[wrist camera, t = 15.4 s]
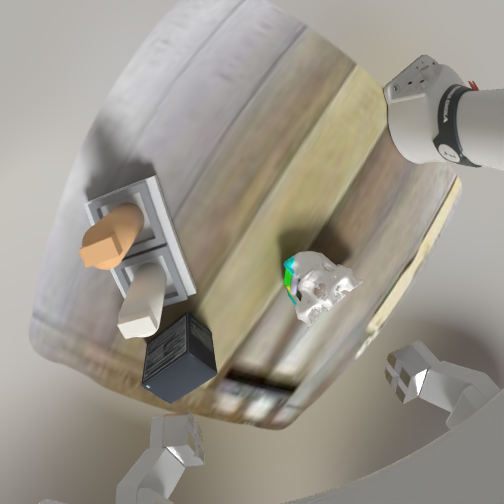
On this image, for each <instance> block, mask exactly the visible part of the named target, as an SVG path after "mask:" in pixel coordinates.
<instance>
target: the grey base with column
mask: <svg viewBox="0 0 504 504" xmlns="http://www.w3.org/2000/svg"><path fill="white" fill-rule="evenodd" d="M123 203H132V204H135V205H136V206H138V207H139V208H140V209H141V211H142V212H143V215H144V226H143V229H142V230H141V232H140V233H139V235H138V236H137V238H136V239H135V241H134V242H133V244H132V245H131V247H130V248H129V250H128V251H127V253H126V254H125V256H124V258H123V259H122V261H121V262H120V263H119V265H117V266H116V267H114V268H112V269H110V270H111V272H112V274H113V276H114V279H115V281H116V283H117V285H118V287H119V289H120V291H121V293H122V295H123V297H124V299H125V300H124V302H123V304H122V307H121V310H120V312H119V322H118V327H119V329H120V331H121V332H122V334H123V336H124V337H125V339H128V338H132V337H148V336H151V335H153V334H154V333H155V332H156V331H157V330H158V328H159V324H160V318H161V312H162V307H164V306H167V305H170V304H174V303H177V302H181V301H184V300H187V299H188V296H189V295H193V294H196V285H195V283H194V280H193V278H192V275H191V272H190V270H189V267H188V265H187V262H186V259H185V257H184V254H183V251H182V248H181V246H180V243H179V240H178V237H177V235H176V232H175V229H174V226H173V223H172V220H171V217H170V214H169V212H168V209H167V206H166V203H165V200H164V197H163V194H162V190H161V187H160V184H159V181H158V178H157V175H154V176H151V177H149V178H146V179H143V180H140V181H138V182H135V183H132V184H130V185H127V186H125V187H122V188H120V189H117V190H115V191H112V192H110V193H107V194H105V195H102V196H100V197H98V198H95V199H93V200H91V201H88V202H87V203H85V204H84V206H85V209H86V212H87V214H88V217H89V220H90V222H91V225H92V226H93V225H95V224H96V223H97V222H98V221H99V220H101V219H102V218H103V217H105V216H106V215H107V214H108V213H110V212H111V211H112V210H113V209H115V208H116V207H117V206H119V205H120V204H123Z"/></svg>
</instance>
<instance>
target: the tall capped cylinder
mask: <svg viewBox="0 0 504 504" xmlns="http://www.w3.org/2000/svg"><path fill="white" fill-rule="evenodd" d="M143 226H144V215H143V212H142V211H141V209H140V208H139V207H138V206H136V205H135V204H132V203H123V204H120V205H119V206H117V207H116V208H115V209H113V210H112V211H111V212H110V213H108V214H107V215H106V216H105V217H103V218H102V219H101V220H99V221H98V222H97V223H96V224H95V225H93V226H92V227H91V228H90V229H89V230H88V231H87V232H86V233H85V235H84V237H83V241H82V247H81V248H80V249H79V250H78V251H79V253H80V255H81V257H82V260H83V262H84V264H85V266H86V268H88V267H91V266H95V267H97V268H99V269H104V270H108V269H112V268H114V267H116V266H117V265H119V263H120V262H121V261H122V259H123V258H124V256H125V254H126V253H127V251H128V250H129V248H130V247H131V245H132V244H133V242H134V241H135V239H136V238H137V236H138V235H139V233H140V232H141V230H142V229H143Z"/></svg>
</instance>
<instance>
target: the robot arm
mask: <svg viewBox="0 0 504 504" xmlns="http://www.w3.org/2000/svg"><path fill="white" fill-rule="evenodd" d="M469 84H470V86H471V87H472V89H471V88H468V87H466V86H465V84H464V83H463V81H462V80H461V78H460V77H459V76H458V75H457V73H456V72H455V71H453V69H451V68H450V67H448V66H446V65H443V64H442V65H441V64H440V65H439V64H438V63H437V62H436V61H435V60H434V59H432V58H431V57H429V56H427V55H421V56H420V57H419V58H417V59H416V60H415V61H414V62H413V63H412V64H410V65H409V66H408V67H407V68H406V69H404V70H403V71H402V72H401V73H400V74H399V75H397V76H396V77H395V78H394V79H393V80H392V81H391V82H389V83H388V84H387V85H386V86H385V87H384V95H385V98H386V101H387V104H388V123H389V130H390V133H391V137H392V139H393V142H394V144H395V146H396V147H397V149H398V150H399V152H400V153H401V154H402V155H403V156H404V157H405V158H406V159H408V160H409V161H411V162H413V163H417V164H423V163H428V162H444V161H451V162H454V163H457V164H461V165H465V166H471V167H482V166H485V167H489V168H493V169H498V170H502V171H504V89H496V90H482V91H479V89H478V87H477V86H476V84H475V83H474V81H473V84H474V85H473V84H472V83H471V82H470V81H469ZM474 86H475V87H474ZM394 88H395V90H394ZM387 361H388V362H389V363H388V365H387V366H386V368H385V376H386V379H387V381H388V383H389V385H390V386H391V387H394V388H396V395H397V396H398V398H399V399H400V401H401V402H402V403H403V404H404V403H406V402H408V401H410V400H412V399H414V398H416V397H418V396H419V397H420V398H422V399H424V400H426V401H429V402H431V403H433V404H435V405H437V406H439V407H441V408H443V409H445V410H447V411H449V412H451V414H450V416H449V418H448V419H447V421H446V425H447V426H448V427H449V429H450V431H448V432H447V433H445V434H444V435H442V436H441V437H439V438H438V439H436V440H434V441H433V442H431V443H429V444H428V445H426V446H425V447H423V448H421V449H419V450H418V451H416V452H414V453H412V454H410V455H409V456H407V457H405V458H403V459H401V460H399V461H397V462H395V463H393V464H391V465H389V466H387V467H385V468H383V469H381V470H379V471H376V472H374V473H372V474H370V475H367V476H365V477H363V478H360V479H358V480H355V481H353V482H350V483H347V484H345V485H342V486H339V487H337V488H334V489H331V490H328V491H325V492H322V493H318V494H315V495H312V496H308V497H305V498H301V499H298V500H294V501H290V502H285V503H281V504H504V388H503V389H502V390H500V389H499V388H498V387H497V386H496V384H494V382H493V381H492V380H491V379H490V378H489V377H488V376H487V375H486V374H485V373H482V372H479V371H475V370H472V369H468V368H465V367H462V366H458V365H455V364H452V363H448V362H445V361H442V362H440V361H439V360H438V359H437V358H436V357H435V356H434V355H433V354H432V353H431V352H430V351H429V349H428V348H426V346H425V345H424V344H423V343H422V342H421V341H419V340H417V341H415V342H413V343H411V344H409V345H406V346H404V347H402V348H400V349H398V350H396V351H394V352H391V353H389V354H388V356H387ZM202 443H203V436H202V431H201V428H200V426H199V424H198V423H197V422H196V421H194V420H193V415H192V414H191V412H185V413H176V414H167V415H156V416H154V417H153V419H152V427H151V439H150V449H146V450H145V452H144V453H143V454H142V455H141V457H140V458H139V459H138V461H137V462H136V463H135V464H134V466H133V467H132V468H131V469H130V471H129V472H128V473H127V475H126V476H125V477H124V478H123V479H122V481H121V482H120V483H119V484H118V485H117V492H116V503H115V504H174V503H172V502H171V501H169V500H168V498H169V496H170V494H171V493H172V491H173V489H174V487H175V485H176V484H177V482H178V480H179V478H180V476H181V475H182V473H183V471H184V469H185V467H187V466H196V465H203V464H205V462H204V451H203V449H202V448H201V447H200V446H201V444H202ZM38 504H66V503H62V502H58V501H55V500H50V499H45V500H43V501H41V502H40V503H38Z"/></svg>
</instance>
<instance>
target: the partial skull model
mask: <svg viewBox="0 0 504 504" xmlns="http://www.w3.org/2000/svg"><path fill="white" fill-rule="evenodd" d="M284 267H285V268H286V271H285V277H284V285H286V287H287V289H288V290H287V292H288V295H289V297H290V299H291V300H292V302H293V303H294V305H295V308H296V313H297V317H298V319H300V320H303V321H304V322H306V324H307V326H308V328H309V327H310V326H311V325H312V324H313V323H314V322H315V321H316V320H317V317H316V316H317V314H318V313H317V312H318V310H319V311H320V312H321V313H322V308H324V307H326V308H327V309H328V310H329V309H331V307H332V306H333V305H334V304H336V303H337V302H339V300H341V299H342V298H344V297H345V296H346V295H340V296H341V297H340V298H337V296H336V294H337V293H340V292H341V291H342V290H348V291H349V292H350V291H351V290H352V289H353V288H355V287H356V286H357V285H358V284H360V283H361V282H363V281H362V280H361V279H360V278H358V277H355V276H354V274H353V273H352V269H350V268H345V267H344V266H343V265H340V264H337V266H336V265H335V264H334V263H333V262H331V261H330V260H329V259H328V258H327V257H326V256H324V255H323V253H317V252H314V251H305V252H299V253H297V254H296V255H295V256H292V257H291V258H289V259H288V260H287V261H285V262H284ZM324 267H326V269H328V270H330V271H327V270H326V269H324ZM329 268H330V269H329ZM334 270H335V271H334ZM299 279H301V280H300V282H299V283H298V280H299ZM321 283H323V284H325V285H326V288H327V290H328V296H327V295H325V294H324V296H325V297H326V299H325V300H322V297H323V293H324V292H325V291H324V290H322V295H321V296H320V297H321V299H320V297H317V296H316V295H315V294H314V289H315V288H318V289H320V288H319V284H321ZM297 285H298V288H297ZM297 290H298V291H300V293H301V294H302V297H301V301H299V299H298V298H297V296H296V291H297ZM338 290H339V292H338ZM334 294H335V297H336V298H335V297H334ZM340 294H341V293H340ZM323 298H324V297H323ZM308 300H309V302H308ZM322 306H324V307H322ZM328 310H327V311H328ZM327 311H326V312H327Z"/></svg>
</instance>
